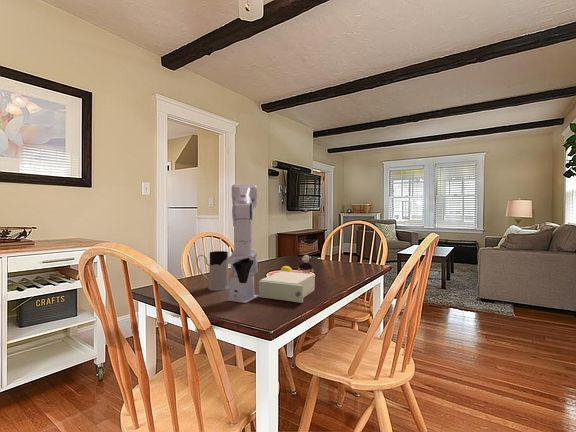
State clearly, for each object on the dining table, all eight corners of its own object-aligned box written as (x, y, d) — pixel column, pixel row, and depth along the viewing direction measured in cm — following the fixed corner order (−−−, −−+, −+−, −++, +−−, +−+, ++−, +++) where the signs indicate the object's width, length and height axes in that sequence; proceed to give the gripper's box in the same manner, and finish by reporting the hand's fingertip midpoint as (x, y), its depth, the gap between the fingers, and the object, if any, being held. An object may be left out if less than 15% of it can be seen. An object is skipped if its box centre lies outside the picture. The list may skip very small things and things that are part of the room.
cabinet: (296, 301, 114) (296, 283, 113) (260, 296, 120) (260, 279, 120) (314, 290, 130) (314, 274, 130) (281, 286, 136) (281, 271, 136)
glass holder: (225, 290, 129) (225, 254, 129) (192, 289, 131) (191, 253, 131) (232, 285, 138) (232, 251, 137) (201, 284, 140) (201, 250, 139)
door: (300, 303, 110) (300, 286, 110) (257, 297, 117) (257, 281, 117) (303, 301, 112) (303, 285, 112) (260, 296, 120) (260, 280, 119)
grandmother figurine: (315, 283, 142) (315, 254, 142) (313, 285, 138) (313, 255, 138) (298, 282, 144) (298, 254, 144) (296, 284, 140) (296, 255, 140)
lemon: (294, 277, 155) (295, 267, 154) (286, 279, 151) (287, 268, 150) (284, 273, 160) (285, 263, 159) (276, 275, 156) (277, 264, 155)
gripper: (240, 243, 94) (240, 289, 95) (264, 239, 107) (264, 279, 108) (221, 242, 97) (221, 286, 98) (247, 238, 110) (247, 277, 111)
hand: (243, 282), depth 103 cm, fingers closed
